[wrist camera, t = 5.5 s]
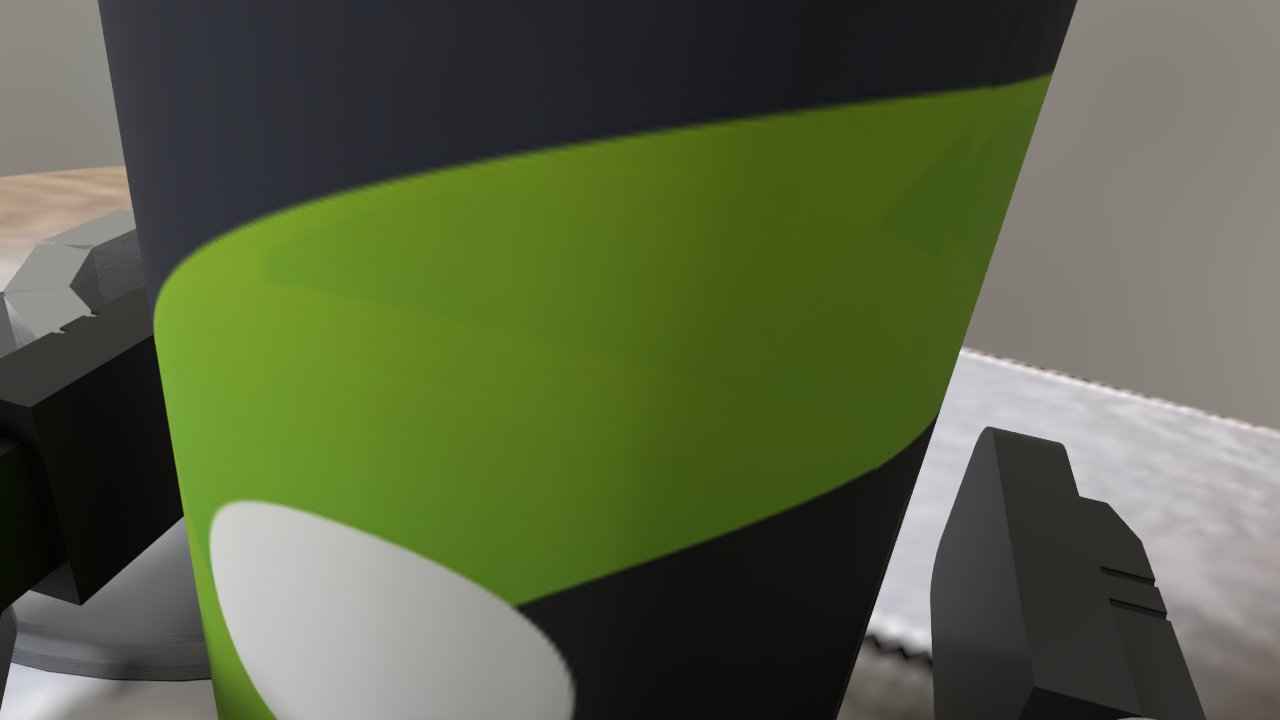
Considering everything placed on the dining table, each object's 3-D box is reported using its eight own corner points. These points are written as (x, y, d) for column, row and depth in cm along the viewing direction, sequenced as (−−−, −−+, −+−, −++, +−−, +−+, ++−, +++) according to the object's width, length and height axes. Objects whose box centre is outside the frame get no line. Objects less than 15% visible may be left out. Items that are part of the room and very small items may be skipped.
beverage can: (554, 716, 17) (656, -250, 9) (814, 1012, 13) (1332, -229, 6) (204, 931, 13) (-88, -423, 6) (427, 1444, 9) (443, -746, 2)
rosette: (677, 338, 30) (695, 221, 28) (442, 806, 15) (445, 623, 13) (207, 231, 33) (192, 118, 31) (-395, 529, 18) (-503, 345, 16)
